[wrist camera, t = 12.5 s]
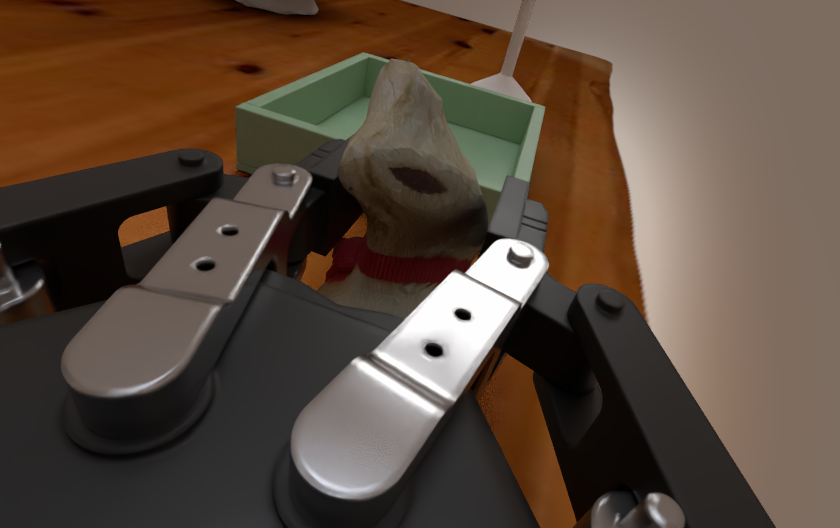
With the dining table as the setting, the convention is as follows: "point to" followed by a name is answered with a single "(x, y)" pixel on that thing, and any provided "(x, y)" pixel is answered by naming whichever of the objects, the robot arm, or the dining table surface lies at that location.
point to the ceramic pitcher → (284, 6)
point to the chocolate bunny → (405, 200)
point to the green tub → (347, 110)
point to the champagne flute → (511, 59)
